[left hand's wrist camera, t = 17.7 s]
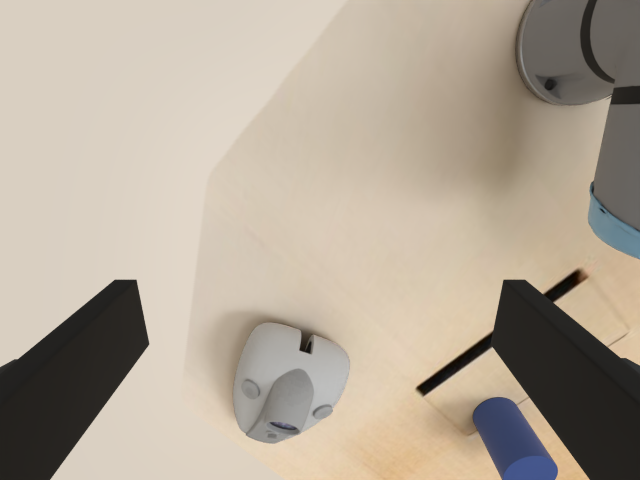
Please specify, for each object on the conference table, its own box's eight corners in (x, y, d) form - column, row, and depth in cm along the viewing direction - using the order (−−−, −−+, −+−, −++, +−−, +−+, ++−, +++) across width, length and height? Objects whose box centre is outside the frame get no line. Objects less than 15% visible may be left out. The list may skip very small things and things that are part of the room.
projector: (191, 343, 57) (149, 417, 43) (317, 288, 53) (316, 349, 40) (258, 435, 64) (241, 524, 50) (374, 391, 60) (390, 474, 46)
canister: (516, 429, 63) (555, 491, 53) (472, 433, 64) (501, 496, 53) (519, 395, 61) (560, 453, 50) (473, 399, 61) (504, 458, 51)
